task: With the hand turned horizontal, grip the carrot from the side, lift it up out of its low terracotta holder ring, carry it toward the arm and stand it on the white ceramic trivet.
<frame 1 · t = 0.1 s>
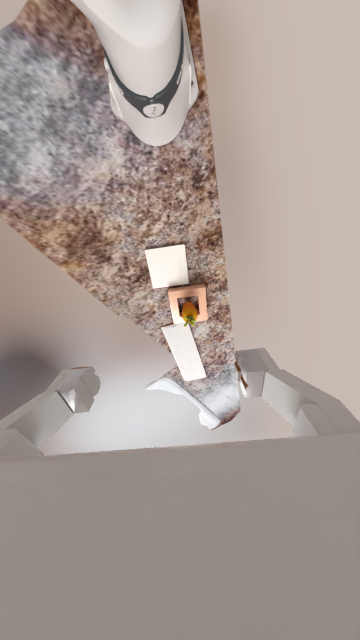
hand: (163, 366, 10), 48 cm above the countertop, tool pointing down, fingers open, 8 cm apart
baseboard molding: (184, 352, 72), on the countertop
carrot: (188, 302, 60), resting in holder ring
trivet: (168, 267, 54), on the countertop
holder ring: (188, 302, 60), on the countertop
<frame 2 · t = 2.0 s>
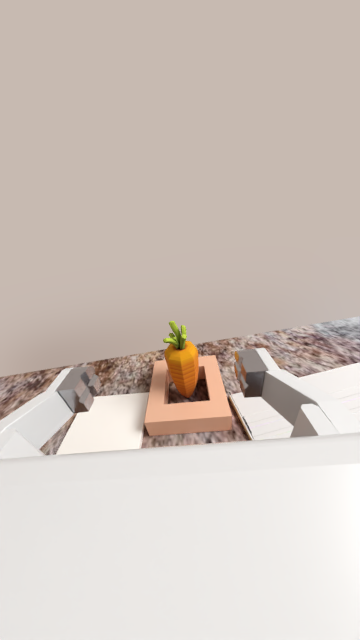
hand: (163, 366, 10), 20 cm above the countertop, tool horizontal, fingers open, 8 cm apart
baseboard molding: (344, 411, 25), on the countertop
carrot: (188, 397, 30), resting in holder ring
trivet: (106, 432, 26), on the countertop
holder ring: (187, 396, 30), on the countertop
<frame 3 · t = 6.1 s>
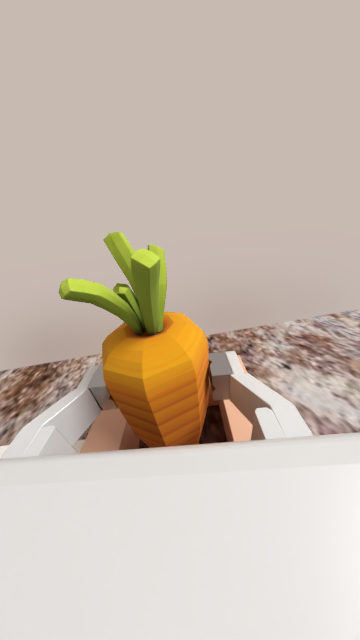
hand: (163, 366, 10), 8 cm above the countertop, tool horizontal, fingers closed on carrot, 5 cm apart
carrot: (182, 453, 13), resting in holder ring, touching gripper
holder ring: (182, 451, 13), on the countertop
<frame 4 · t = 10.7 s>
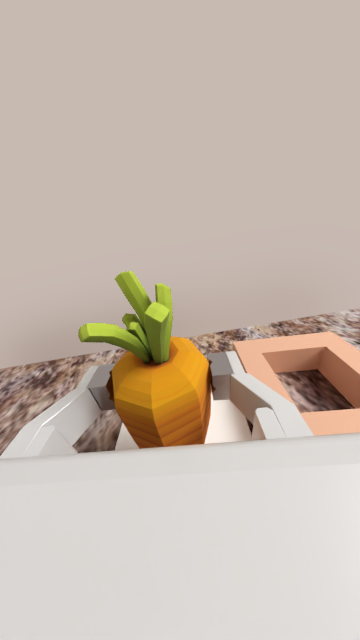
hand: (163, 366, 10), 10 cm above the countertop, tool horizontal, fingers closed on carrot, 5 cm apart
carrot: (185, 465, 13), point 1 cm above the countertop, touching gripper, trivet
trivet: (183, 465, 14), on the countertop
holder ring: (306, 397, 18), on the countertop
when the fingers open (10 cm above the countertop, at t = 11.1 s): carrot stays where it is, resting on trivet.
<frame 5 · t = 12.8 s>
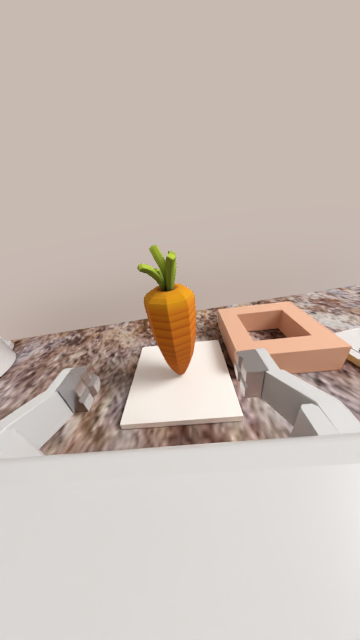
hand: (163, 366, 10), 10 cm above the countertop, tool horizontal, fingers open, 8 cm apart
carrot: (181, 374, 21), point 1 cm above the countertop, touching trivet
trivet: (180, 377, 22), on the countertop
holder ring: (266, 343, 25), on the countertop
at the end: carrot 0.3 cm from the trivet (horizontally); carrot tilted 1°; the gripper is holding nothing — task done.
